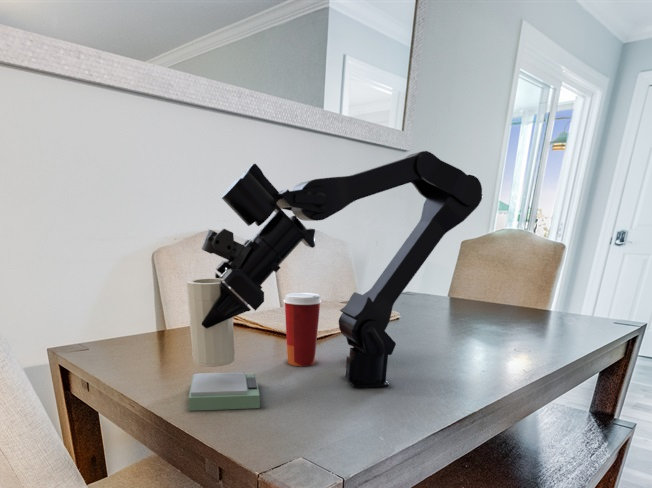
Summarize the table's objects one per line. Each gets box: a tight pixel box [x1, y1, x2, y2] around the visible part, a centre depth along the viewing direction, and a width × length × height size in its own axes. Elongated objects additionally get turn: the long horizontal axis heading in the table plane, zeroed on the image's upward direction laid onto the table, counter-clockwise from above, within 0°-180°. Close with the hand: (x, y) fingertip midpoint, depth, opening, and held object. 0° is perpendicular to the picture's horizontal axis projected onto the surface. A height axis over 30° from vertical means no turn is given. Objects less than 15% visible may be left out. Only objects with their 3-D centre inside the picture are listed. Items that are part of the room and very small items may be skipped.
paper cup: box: [282, 292, 323, 367], centre depth 94 cm, size 8×8×14 cm
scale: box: [187, 371, 261, 412], centre depth 77 cm, size 11×11×3 cm
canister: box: [186, 277, 236, 368], centre depth 74 cm, size 7×7×13 cm
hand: (202, 321), depth 74 cm, fingers closed on canister, 7 cm apart
